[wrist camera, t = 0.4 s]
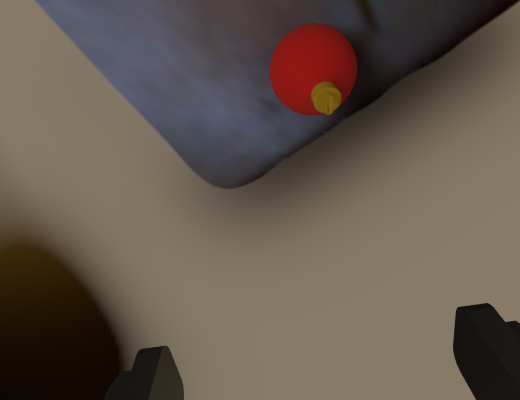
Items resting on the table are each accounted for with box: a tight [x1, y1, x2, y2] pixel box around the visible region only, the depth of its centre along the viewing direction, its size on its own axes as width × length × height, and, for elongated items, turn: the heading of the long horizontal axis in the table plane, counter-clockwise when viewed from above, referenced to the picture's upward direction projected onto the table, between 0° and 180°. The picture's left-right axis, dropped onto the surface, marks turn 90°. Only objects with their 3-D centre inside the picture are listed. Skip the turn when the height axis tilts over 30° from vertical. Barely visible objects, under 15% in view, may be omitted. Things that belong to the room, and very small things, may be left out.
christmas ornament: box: [270, 24, 357, 115], centre depth 30 cm, size 7×7×10 cm
